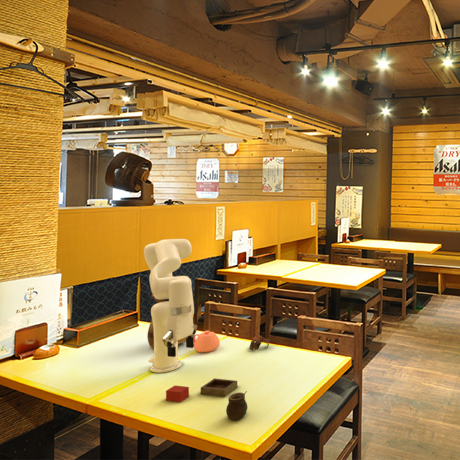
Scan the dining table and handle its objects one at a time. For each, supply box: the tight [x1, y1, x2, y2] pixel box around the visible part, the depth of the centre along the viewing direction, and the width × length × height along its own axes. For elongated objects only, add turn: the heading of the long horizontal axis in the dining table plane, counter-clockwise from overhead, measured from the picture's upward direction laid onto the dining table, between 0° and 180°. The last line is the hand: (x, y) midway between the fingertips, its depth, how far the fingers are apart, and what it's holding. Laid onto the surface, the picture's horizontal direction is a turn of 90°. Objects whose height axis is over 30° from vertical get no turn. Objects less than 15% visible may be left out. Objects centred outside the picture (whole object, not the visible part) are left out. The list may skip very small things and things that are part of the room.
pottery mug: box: [249, 334, 270, 352], centre depth 199 cm, size 12×10×8 cm
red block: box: [165, 385, 190, 403], centre depth 146 cm, size 6×4×4 cm
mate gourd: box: [225, 390, 248, 421], centre depth 134 cm, size 7×8×10 cm
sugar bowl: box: [193, 330, 220, 353], centre depth 196 cm, size 12×14×10 cm
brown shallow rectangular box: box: [200, 378, 238, 398], centre depth 153 cm, size 11×8×3 cm
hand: (181, 351), depth 147 cm, fingers open, 9 cm apart
